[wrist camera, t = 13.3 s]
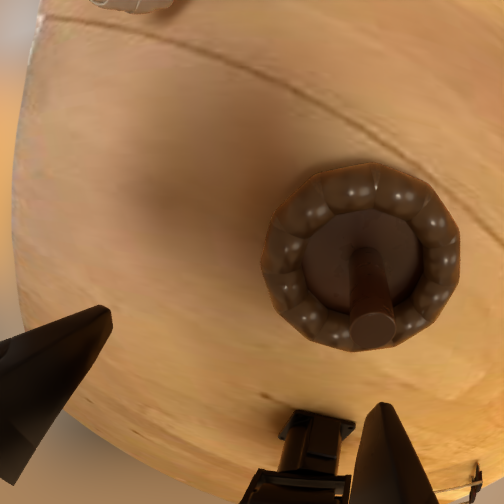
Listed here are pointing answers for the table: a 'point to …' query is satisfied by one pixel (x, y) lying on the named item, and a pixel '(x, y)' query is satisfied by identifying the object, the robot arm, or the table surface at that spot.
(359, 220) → the peg stand
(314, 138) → the table surface
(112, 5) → the mug
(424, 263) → the ring
